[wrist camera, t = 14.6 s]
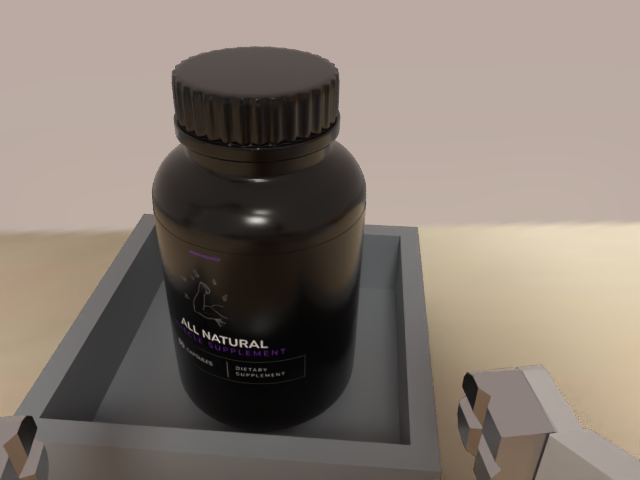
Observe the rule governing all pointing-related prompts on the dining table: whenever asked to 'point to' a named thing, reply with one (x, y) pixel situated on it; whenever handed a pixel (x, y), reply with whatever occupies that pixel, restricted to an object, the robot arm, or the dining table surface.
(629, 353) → the dining table surface
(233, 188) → the supplement bottle
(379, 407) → the tray
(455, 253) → the dining table surface
